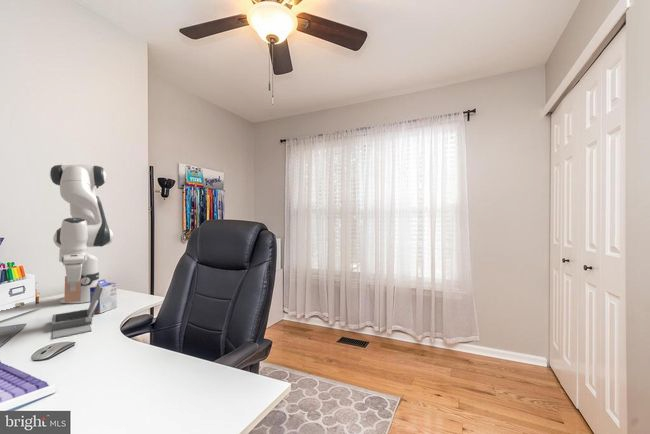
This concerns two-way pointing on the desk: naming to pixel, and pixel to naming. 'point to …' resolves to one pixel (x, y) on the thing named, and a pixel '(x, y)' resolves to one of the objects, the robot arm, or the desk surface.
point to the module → (72, 295)
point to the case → (77, 314)
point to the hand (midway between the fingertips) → (72, 289)
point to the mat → (71, 331)
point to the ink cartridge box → (105, 297)
